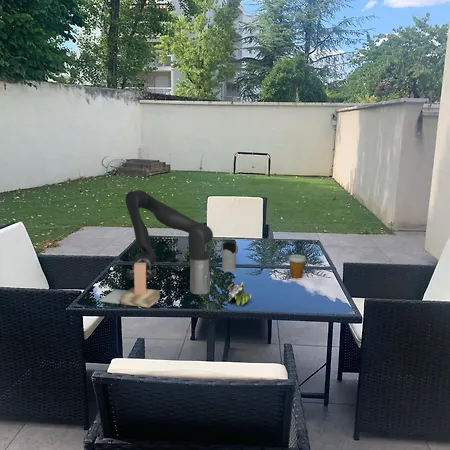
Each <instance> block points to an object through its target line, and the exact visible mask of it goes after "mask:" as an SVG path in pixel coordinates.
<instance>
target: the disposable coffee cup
mask: <svg viewBox="0 0 450 450" xmlns="http://www.w3.org/2000/svg"><path fill="white" fill-rule="evenodd" d="M288 261H289V272H290V273H289V274H290V278H291V277H292V278H291V279H293V278H301V279H302V278H303V275H304V269H305V263H306V261H307V258H306V256H305V255H301V254H290V255H289V257H288Z"/></svg>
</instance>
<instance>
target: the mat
mask: <svg viewBox="0 0 450 450" xmlns="http://www.w3.org/2000/svg"><path fill="white" fill-rule="evenodd" d="M127 291H128V290H125V289H116V288H115V289H114V290H113V291H111V292H110V293H108V294H107V295H105V296H103V297H102V298H100V299H99V300H98V301H99V302H100V301H101V302H102V303H109V304H117V305H118V304H121V295H122V294H124V293H125V292H127Z"/></svg>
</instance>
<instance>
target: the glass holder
mask: <svg viewBox="0 0 450 450" xmlns="http://www.w3.org/2000/svg"><path fill="white" fill-rule="evenodd" d="M237 252H238V244H237V243H234V242H224V243H222V252H221V253H222V254H221V255H222V258H221V260H222V261H221V271H223V272H235V271H236V270H237V268H236V261H237V259H236V257H237Z"/></svg>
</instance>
